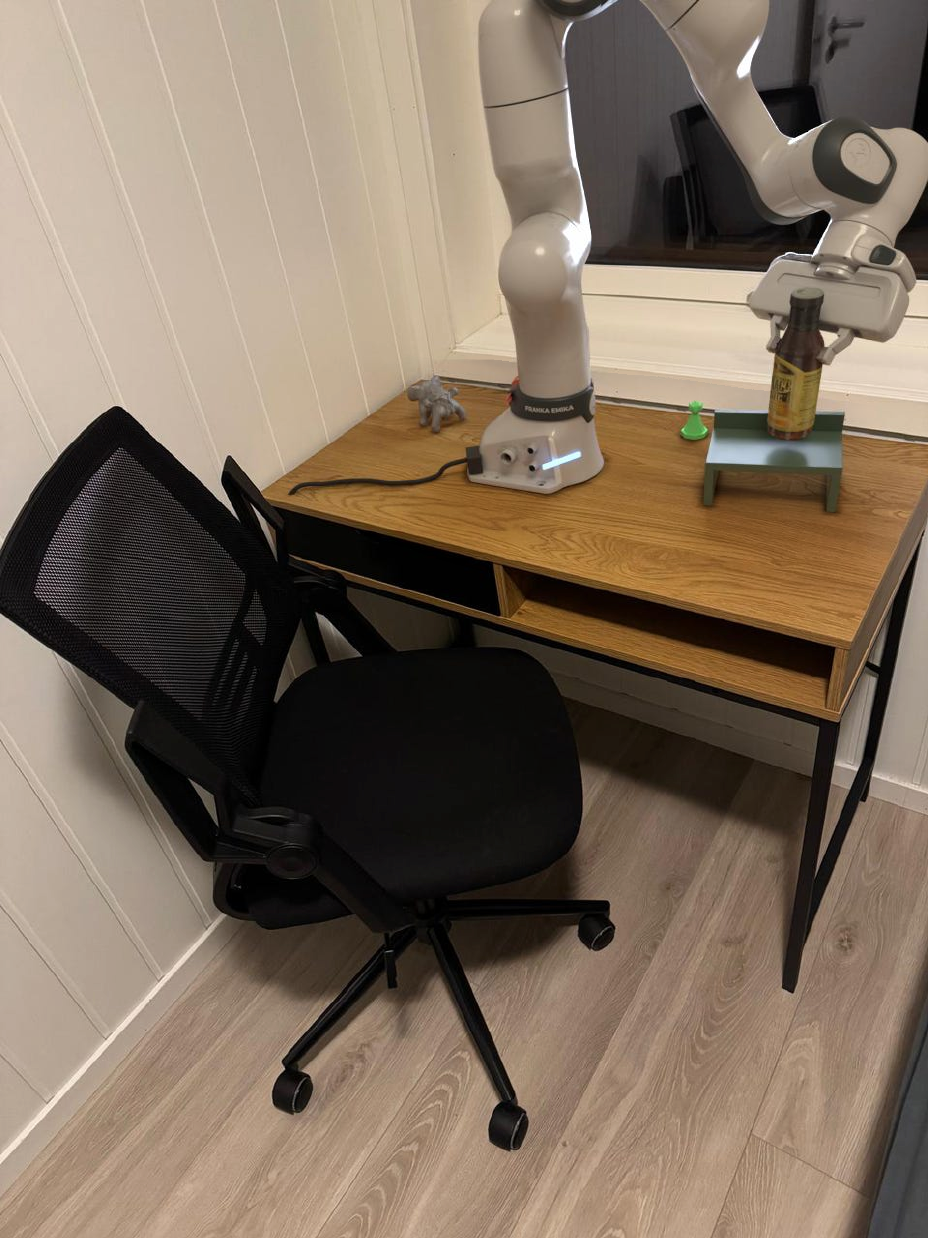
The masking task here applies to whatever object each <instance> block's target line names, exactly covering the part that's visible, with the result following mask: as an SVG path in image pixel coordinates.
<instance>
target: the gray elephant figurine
mask: <svg viewBox="0 0 928 1238" xmlns="http://www.w3.org/2000/svg"><path fill="white" fill-rule="evenodd" d="M450 391H451V392H450ZM457 395H459V389H458V388H457V387H455V386H451V387H449V388H448V389H446V388H444V387H442V381H441V378H440V377H439V376H438V375H435V376H433V377H431V379H430V380H429V379H427V380H424V381H422V382H420V383H419V384H414V385H412V386H410V387H409V388H408V389H407V393H406V396H407V397H406V398H407V399H408V400H409V401H410V402H417V401H418V402H417V403H418V407H419V414H420V419H419V425H420V426H421V427H427V426H428V425H429V421H430V418H431V415H432V421H431V425H430V426H431V427H430V428H431V432H433V433H435V434H436V433H439V432H440V429H441V428H440V426H441V422H442V419H443V418H445V419H446V420H449V417H450V416H451V415H457V417H458V418H459V419H460V420H461V421H464V420H465V419H466V417H467V413H466V410H465V408H463V406H462V405H461V404H460V403H459V402H458V401H457V400H455V399H454V397H455V396H457Z"/></svg>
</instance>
